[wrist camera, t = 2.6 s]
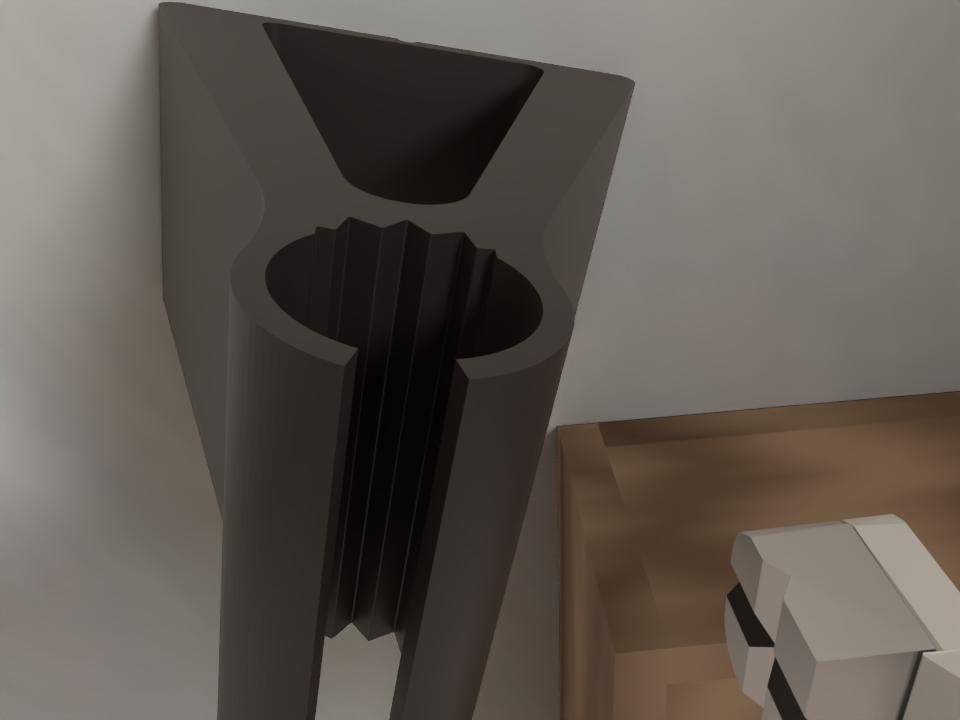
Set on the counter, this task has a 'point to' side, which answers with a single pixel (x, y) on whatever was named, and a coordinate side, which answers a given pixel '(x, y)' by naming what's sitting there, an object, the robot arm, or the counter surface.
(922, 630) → the robot arm
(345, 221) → the phone stand
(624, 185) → the counter surface
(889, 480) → the walnut box
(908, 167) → the counter surface
